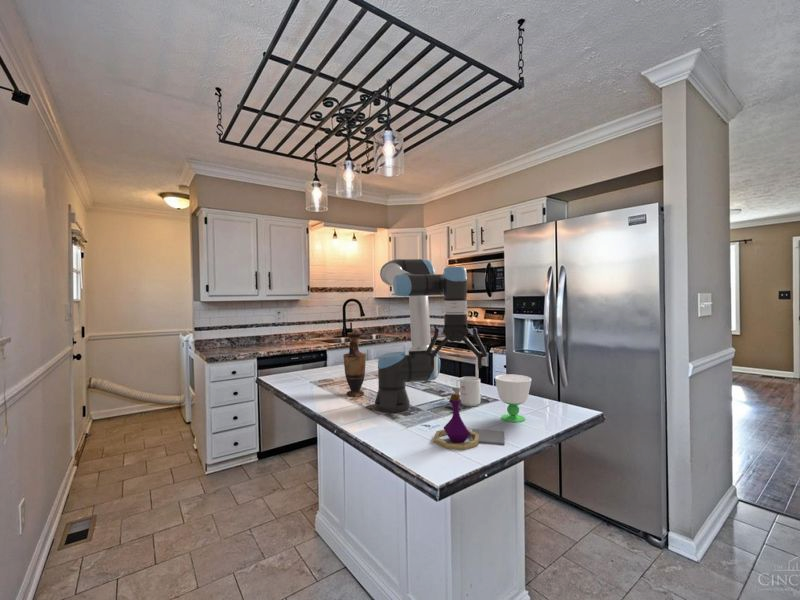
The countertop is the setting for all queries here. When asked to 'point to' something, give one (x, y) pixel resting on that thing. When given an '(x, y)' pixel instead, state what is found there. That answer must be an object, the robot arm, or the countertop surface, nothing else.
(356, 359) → the vase
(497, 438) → the slate coaster
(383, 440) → the countertop surface
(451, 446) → the wooden octagonal frame
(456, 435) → the perfume bottle
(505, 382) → the cup
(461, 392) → the mug
